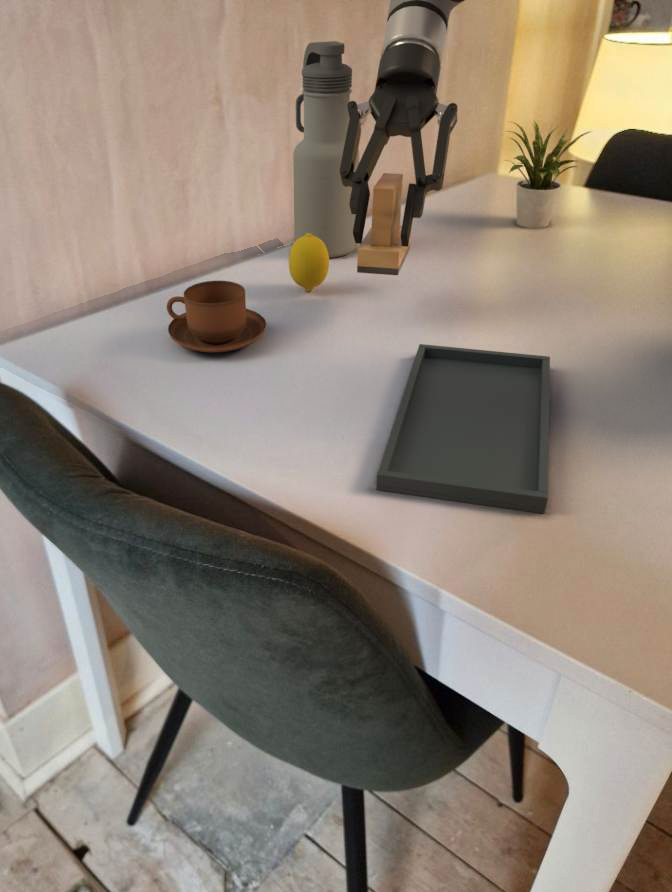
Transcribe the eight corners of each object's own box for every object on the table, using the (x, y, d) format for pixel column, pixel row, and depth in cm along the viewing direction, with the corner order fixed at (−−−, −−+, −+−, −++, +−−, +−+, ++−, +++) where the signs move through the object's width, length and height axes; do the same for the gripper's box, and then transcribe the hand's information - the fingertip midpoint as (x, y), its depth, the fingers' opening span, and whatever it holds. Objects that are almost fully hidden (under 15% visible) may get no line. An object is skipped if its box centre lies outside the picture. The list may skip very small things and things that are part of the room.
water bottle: (285, 242, 124) (281, 41, 107) (341, 235, 126) (346, 36, 109) (306, 262, 116) (304, 48, 99) (365, 254, 118) (374, 44, 101)
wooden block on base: (372, 246, 100) (375, 169, 95) (410, 248, 99) (415, 171, 94) (357, 272, 93) (359, 190, 87) (397, 275, 92) (402, 192, 86)
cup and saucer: (171, 365, 89) (165, 315, 85) (168, 324, 99) (162, 277, 95) (273, 356, 90) (271, 306, 87) (260, 316, 100) (257, 270, 96)
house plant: (464, 222, 130) (477, 116, 120) (511, 205, 137) (527, 104, 127) (537, 241, 121) (557, 129, 111) (583, 222, 129) (606, 115, 119)
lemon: (299, 281, 110) (298, 225, 105) (334, 287, 108) (336, 229, 103) (282, 295, 106) (281, 236, 101) (318, 301, 104) (319, 242, 99)
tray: (418, 357, 90) (419, 343, 89) (547, 370, 86) (550, 356, 85) (375, 489, 68) (376, 474, 67) (544, 513, 65) (547, 497, 64)
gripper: (484, 84, 95) (456, 259, 92) (343, 82, 99) (312, 249, 97) (486, 39, 88) (457, 227, 85) (334, 39, 92) (301, 218, 89)
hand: (380, 239), depth 91 cm, fingers closed on wooden block on base, 5 cm apart
